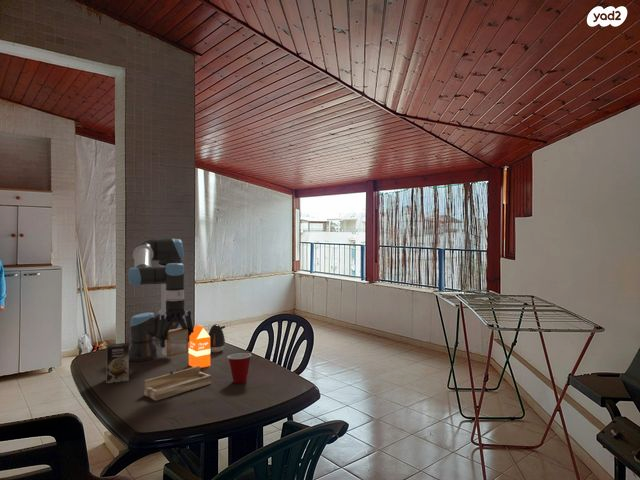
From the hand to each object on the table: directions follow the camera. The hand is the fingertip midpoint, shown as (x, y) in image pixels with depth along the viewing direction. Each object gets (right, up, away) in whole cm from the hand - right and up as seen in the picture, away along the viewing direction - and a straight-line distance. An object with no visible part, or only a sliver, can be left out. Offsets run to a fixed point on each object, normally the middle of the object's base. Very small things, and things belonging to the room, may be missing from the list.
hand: (175, 352), depth 182 cm
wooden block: (0, -1, 0) cm, 1 cm away
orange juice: (+1, -16, +34) cm, 38 cm away
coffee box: (-30, -16, +12) cm, 36 cm away
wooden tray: (+1, -16, +1) cm, 16 cm away
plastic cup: (+25, -16, +11) cm, 32 cm away
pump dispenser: (+3, -15, +60) cm, 62 cm away
